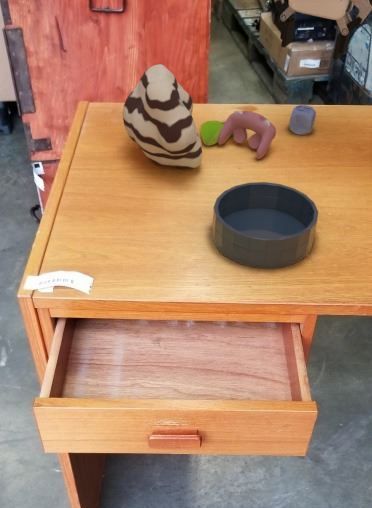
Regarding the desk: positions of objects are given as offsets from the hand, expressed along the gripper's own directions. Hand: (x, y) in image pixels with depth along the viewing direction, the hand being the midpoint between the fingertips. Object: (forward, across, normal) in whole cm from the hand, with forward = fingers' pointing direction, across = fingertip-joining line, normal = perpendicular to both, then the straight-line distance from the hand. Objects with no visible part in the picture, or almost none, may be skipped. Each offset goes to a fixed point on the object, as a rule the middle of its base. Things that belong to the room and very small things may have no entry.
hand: (311, 51), depth 103 cm
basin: (+14, -9, +36) cm, 39 cm away
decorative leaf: (+15, +12, +9) cm, 21 cm away
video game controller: (+14, +6, +12) cm, 19 cm away
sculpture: (+15, +17, +23) cm, 32 cm away
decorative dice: (+14, 0, 0) cm, 15 cm away
